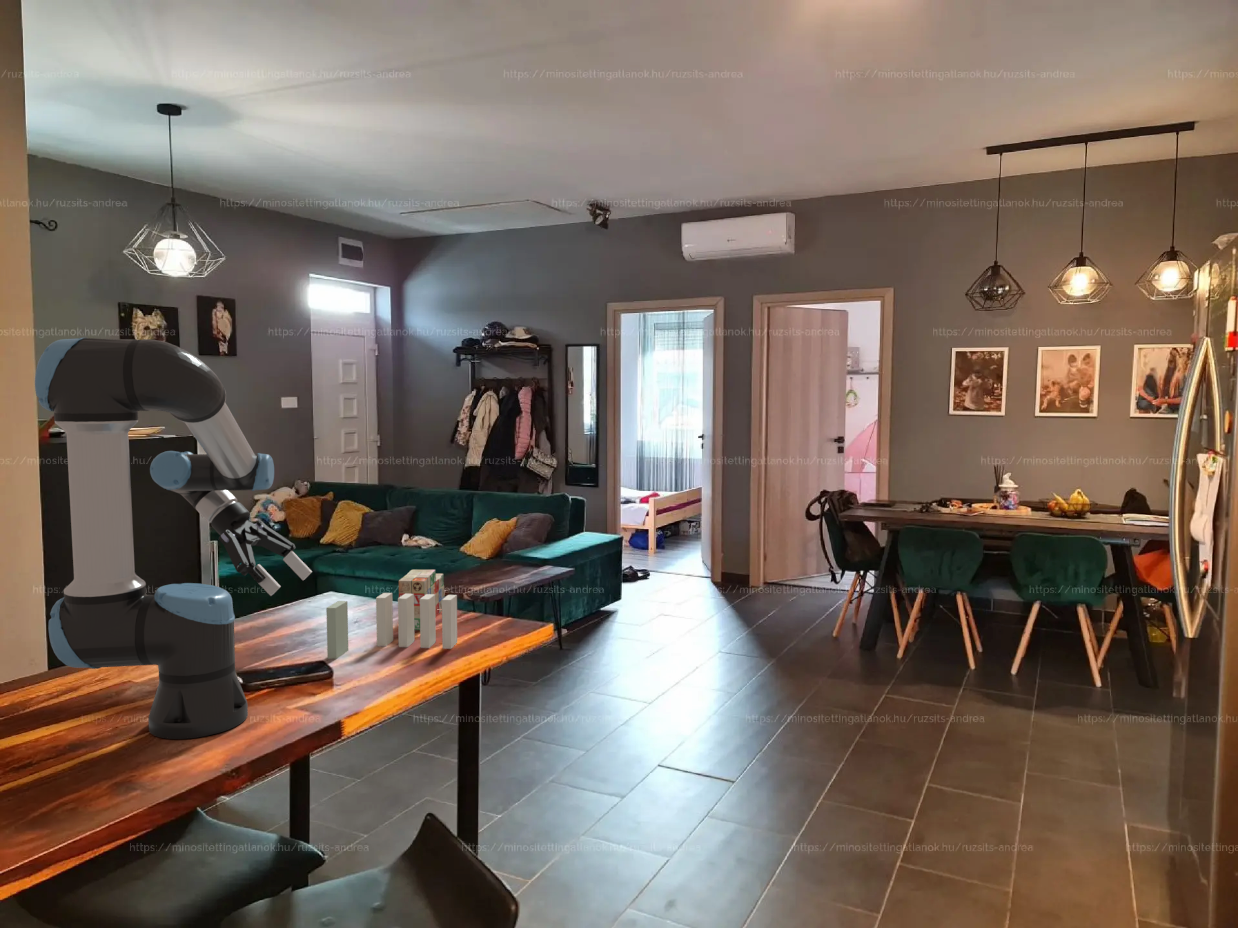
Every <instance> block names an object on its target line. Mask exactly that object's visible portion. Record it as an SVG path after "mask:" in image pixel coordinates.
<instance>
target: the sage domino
mask: <svg viewBox="0 0 1238 928" xmlns="http://www.w3.org/2000/svg"><path fill="white" fill-rule="evenodd" d="M325 611H326V612H325V613H326V643H327V644H326V650H327V651H326V653H327V659H328V660H337V659H339V658H340V657H342V656H343V655H344V654H346V653H347V652H349V615H348V614H349V612H348V611H349V610H348V601H347V600H338V601H336V602H334V603H333V604H331V605H329V606H327V607H326V609H325Z"/></svg>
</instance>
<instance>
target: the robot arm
mask: <svg viewBox="0 0 1238 928" xmlns="http://www.w3.org/2000/svg"><path fill="white" fill-rule="evenodd" d="M34 374H35V375H34V392H35V395H36V398H38V403H39V405H40V406H41V407H42V408H43V409H45V410H46V411H49V412H53V418H54V419H53V420H54V423H55V425H57V427H59V428H60V429H62V430H63V431H64V432H65V433H66V449H67V467H68V469H67V470H68V486H69V488H68V489H69V506H70V509H69V510H70V523H71V524H70V526H71V528H70V529H71V544H72V545H71V546H72V547H71V548H72V560H73V561H72V562H73V563H72V565H73V566H72V567H73V580H72V581H71V582H70V583H69V584H68V585H67V586H66V587H65V588H64V589H63V597H62V598H60V599H58V600H57V601H56V602H55V603H54V605H52V608H51V610H50V613H49V615H50V617H51V618H50V619H49V620H48V636H49V642H50V646H51V649H52V650H53V653H54V654H55V656H56V657H57V659H58V660H59V661H60V662H62V663H63V664H64V665H65V666H67V667H70V668H75V669H77V668H84V669H85V668H86V669H87V668H88V669H93V670H95V669H101V668H114V667H115V668H117V667H119V668H120V667H138V666H154V665H155V666H157V668H158V686H157V688H156V692H155V693H154V694H155V695H154V698H153V701H152V705H151V708H150V711H149V714H148V731H149V733H150V734H151V735H153V736H155V737H157V738H162V739H168V740H184V739H186V740H187V739H197V738H201V737H203V738H204V737H207V736H211V735H216V734H219V733H222V732H225V731H228V730H231V729H233V728H236V727H237V726H239V725H240V724H242V723H243V722H245V720H247V718H248V714H249V711H248V710H249V708H248V700H247V698H246V696H245V693H244V690H243V688H242V685H241V683H240V680H239V679H238V675H237V674H236V673H237V672H236V651H235V650H236V649H235V620H236V616H235V612H234V608H233V607H234V606H233V598H232V595H231V593H230V592H228V590H226V589H225V588H222V587H220V586H217V585H212V584H207V583H206V584H205V583H196V582H195V583H193V582H184V583H183V582H182V583H171V584H166V585H162V586H159V587H158V588H157V589H156V591H155V593H154V594H147V587H146V585H147V583H146V581H145V580H144V579H142V578H141V577H140V576H138V575H137V573H136V572H135V571H136V570H135V568H136V567H135V552H134V550H135V549H134V547H135V546H134V530H133V527H134V526H133V508H132V506H133V505H132V488H131V487H132V485H131V482H132V481H131V464H130V460H131V459H130V442H129V440H130V439H129V433H130V430H132V429H133V427H134V426H135V425H137V424H138V423H139V412H142V411H143V412H149V411H157V412H166V413H170V415H171V416H172V417H173V418H174V419H176V420H177V421H179V422H182V423H184V424H185V425H186V426H187V428H188V430H189V431H190V432H191V434H192V435H193V437H194V438H195V440H196V441H197V442H198V444H199V445H200V446H201V448H202V449H203V451H204V454H202V453H199V454H198V453H197V454H196V453H195V454H194V453H193V452H191V451H184V452H183V451H182V452H181V451H175V450H167V451H164V452H161V453H159V454H157V455H156V456H155V457H154V458H153V460H152V461H151V463H150V467H149V474H150V476H151V478H152V480H153V482H154V483H156V484H157V485H158V486H159V487H161V488H163V489H164V490H165V489H166V490H167V491H171V492H174V493H177V494H179V495H181V496H182V497H183V498H184V499H185V500H186V501H187V502H188V503H189V504H190V505H191V506H192V507H193V509H195V510H196V511H197V512H198V513H199V515H200V516H201V518H204V520H205V521H206V522H207V523H210V526H211V527H212V528H213V530H215V532H216V533H217V534H218V535H219V537H218V541H220V542H221V544H222V545H223V546H224V548H225V551H226V552H227V554H228V556H229V559H230V561H231V563H232V565H233V567H234V569H235V570H236V572H237V573H239V574H241V575H242V576H246V575H250V576H251V578H253V580H254V581H255V582H256V583H258V585H259V586H260V587H261V588H262V589H264V590H265V592H266V593H267V595H269V596H270V597H272V596H273V595H275V593H277V592H278V590H279V589H280V588H281V587H282V586H281V585H280V584H279V583H278V581H276V580H275V579H274V577H273V576H272V575H271V574H270V573H269V572H267V570H266V569H265V568H264V567H263V566H262V565H261V564H260V563H259V564H257V565H256V560H255V555H254V551H253V548H252V547H254V546H256V547H261V548H264V549H267V550H268V551H270V552H272V553H275V554H277V555H279V556H280V557H283V558H282V561H283V562H284V563H285V564H287V566H288V567H290V569H291V570H292V571H293V572H294V573H295V574H296V576H298V577H299V578H300V579H301V580H302V581H304V580H306V579H307V578H308V577H309V576H310V575H311V574H312V573H313V571H312V569H311V568H310V567H308V565H307V564H306V562H303V560H302V559H301V558H300V557H299V556H298V555H297V554H296V553H295V552H294V550H295V549H296V545H295V543H293V542H291V541H290V540H289V539H288V538H286V537H285V536H283V535H281V534H280V533H278V532H276V531H275V530H274V529H272V528H270V527H269V526H268V525H266V524H265V523H264V521H262V520H260V519H258V520H257V521H256V523H254V522H252V521H250V517H251V512H250V511H249V510H248V509H247V508H246V507H245V506H244V504H243V503H242V502H239V501H238V498H237V497H236V496H235V495H234V494H233V493H232V492H231V491H252V492H254V491H259V490H261V491H262V490H269V489H270V488H271V487H272V485H273V483H274V479H275V465H274V460H273V459H274V458H272V456H271V455H270V454H266V453H261V452H258V453H255V452H254V451H253V449H252V447H251V445H250V444H249V442H248V440H247V439H246V436H245V435H244V432H243V431H242V430H241V428H240V426H239V423H237V420H236V419H235V417H234V415H233V414H232V412H231V410H230V408H229V406H228V405H227V403H226V400H227V391H226V389H225V386H224V384H223V382H222V381H221V379H220V378H219V377H218V375H217V374H216V373H215V371H213V370H212V368H210V367H209V366H208V365H207V364H205V362H203V361H202V359H200V358H198V357H197V356H195V355H193V353H190V352H189V351H187V350H186V349H183V348H181V347H179V346H178V345H174V344H172V343H169V342H168V341H162V340H158V339H148V338H144V339H129V338H128V339H127V338H125V339H121V338H120V339H119V338H94V337H93V338H91V337H88V338H87V337H78V338H77V337H76V338H63V339H58V340H57V339H56V340H54V341H53V342H51V343H50V344H49V345H48V346H46V348H45V349H44V351H43V353H42V354H40V357H39V359H38V361H37V365H36V369H35V373H34ZM205 453H206V454H205Z"/></svg>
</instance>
